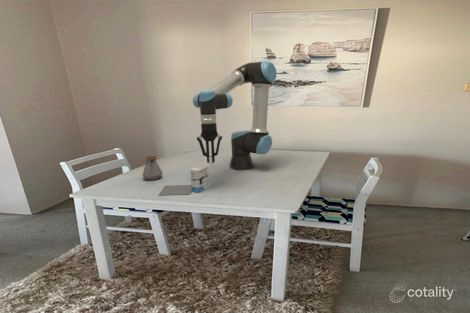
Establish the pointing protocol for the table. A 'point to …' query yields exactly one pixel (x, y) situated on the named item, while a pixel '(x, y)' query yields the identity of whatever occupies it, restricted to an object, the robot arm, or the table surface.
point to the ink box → (199, 178)
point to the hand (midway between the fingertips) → (211, 168)
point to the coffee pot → (152, 169)
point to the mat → (176, 190)
